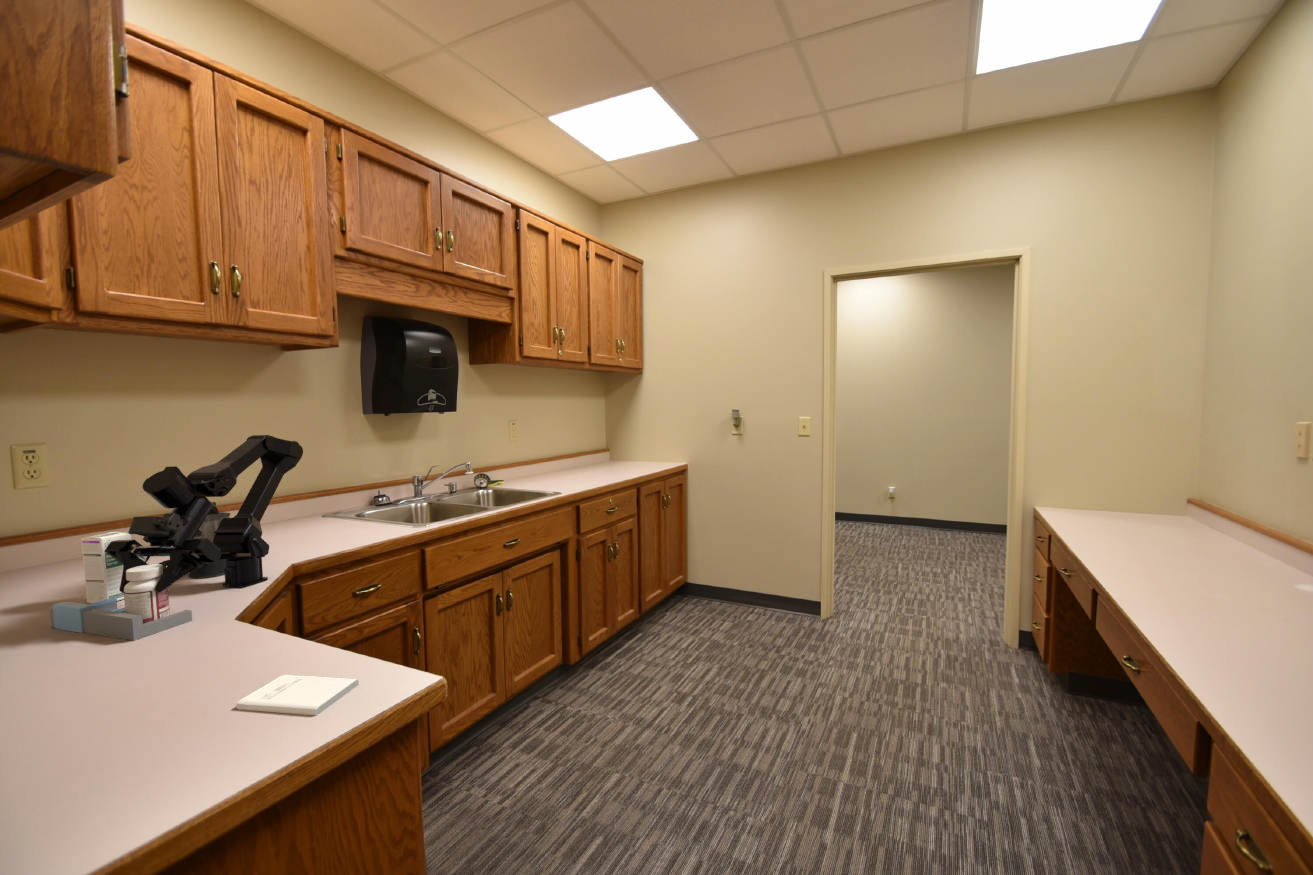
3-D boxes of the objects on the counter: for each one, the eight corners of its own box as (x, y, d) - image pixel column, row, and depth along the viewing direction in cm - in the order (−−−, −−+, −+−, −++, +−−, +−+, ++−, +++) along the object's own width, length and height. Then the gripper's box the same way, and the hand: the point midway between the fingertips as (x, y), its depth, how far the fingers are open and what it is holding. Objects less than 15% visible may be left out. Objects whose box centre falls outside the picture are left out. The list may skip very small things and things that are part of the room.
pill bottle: (163, 617, 110) (159, 561, 109) (175, 623, 107) (171, 565, 106) (121, 628, 105) (117, 569, 104) (133, 634, 101) (128, 574, 101)
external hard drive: (316, 719, 74) (236, 712, 76) (359, 688, 82) (285, 682, 84) (316, 708, 73) (235, 701, 75) (358, 677, 82) (284, 672, 84)
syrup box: (107, 604, 118) (101, 537, 117) (85, 603, 119) (80, 536, 118) (137, 595, 123) (132, 531, 122) (116, 594, 124) (111, 530, 123)
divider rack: (192, 620, 108) (190, 597, 108) (132, 641, 99) (130, 615, 98) (112, 609, 115) (111, 587, 115) (49, 627, 106) (47, 603, 105)
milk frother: (238, 572, 139) (234, 514, 138) (154, 589, 128) (150, 525, 127) (226, 562, 149) (223, 508, 148) (147, 576, 137) (143, 518, 136)
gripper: (110, 499, 108) (54, 572, 98) (206, 497, 108) (160, 570, 98) (149, 530, 116) (101, 599, 106) (238, 528, 117) (199, 597, 106)
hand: (139, 591), depth 104 cm, fingers closed on pill bottle, 6 cm apart
